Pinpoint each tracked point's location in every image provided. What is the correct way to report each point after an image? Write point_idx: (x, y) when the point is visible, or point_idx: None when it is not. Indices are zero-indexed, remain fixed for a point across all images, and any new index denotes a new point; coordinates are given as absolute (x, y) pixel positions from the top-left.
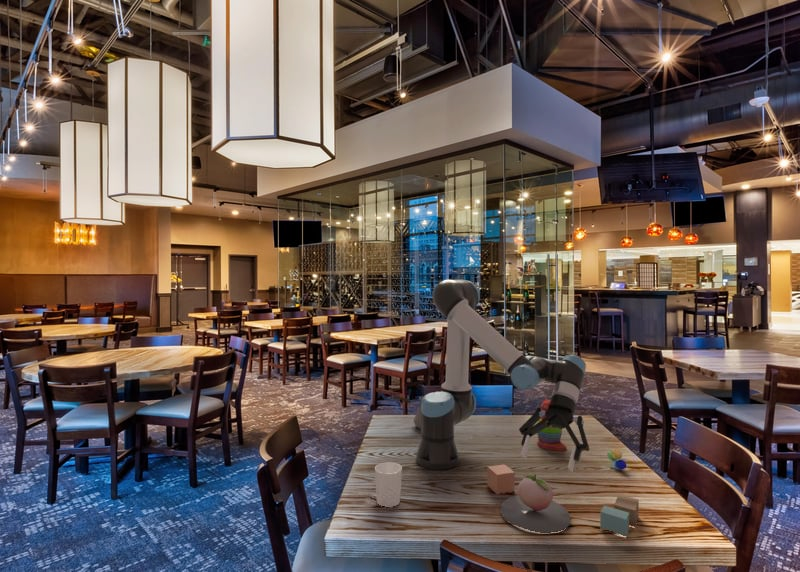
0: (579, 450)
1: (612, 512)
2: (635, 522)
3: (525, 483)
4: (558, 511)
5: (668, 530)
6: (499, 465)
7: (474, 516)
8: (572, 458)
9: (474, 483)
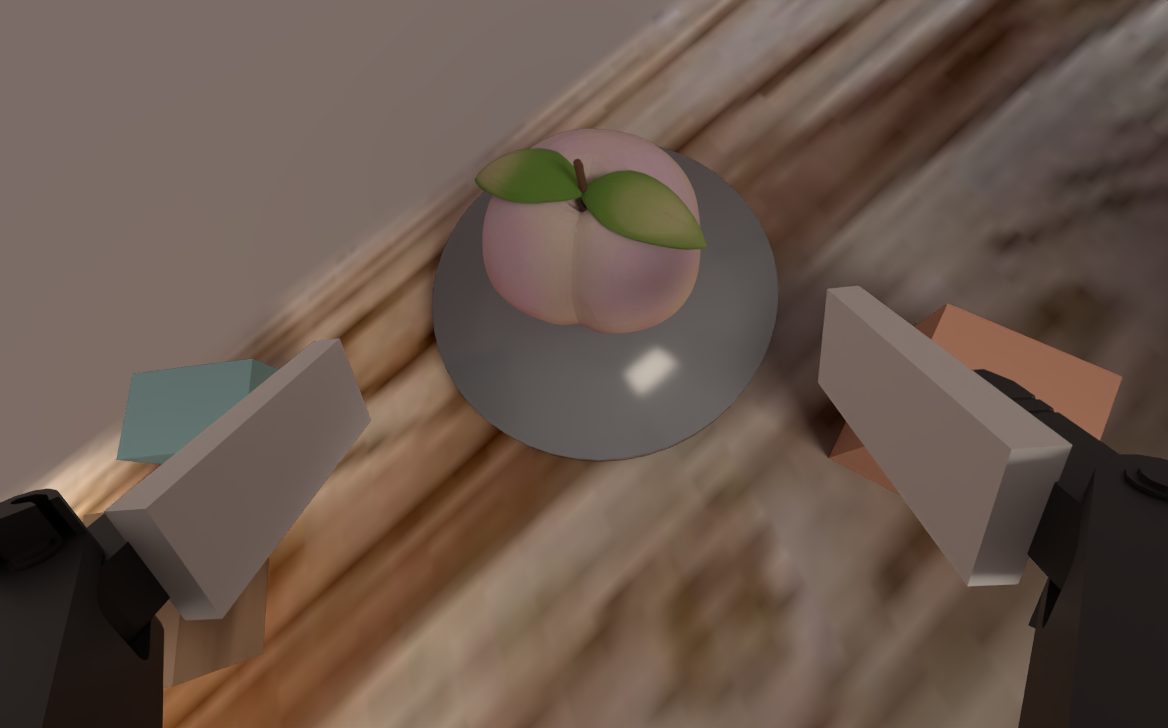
0: (100, 523)
1: (196, 397)
2: None
3: (624, 133)
4: (504, 366)
5: None
6: None
7: (804, 106)
8: (249, 394)
9: None
